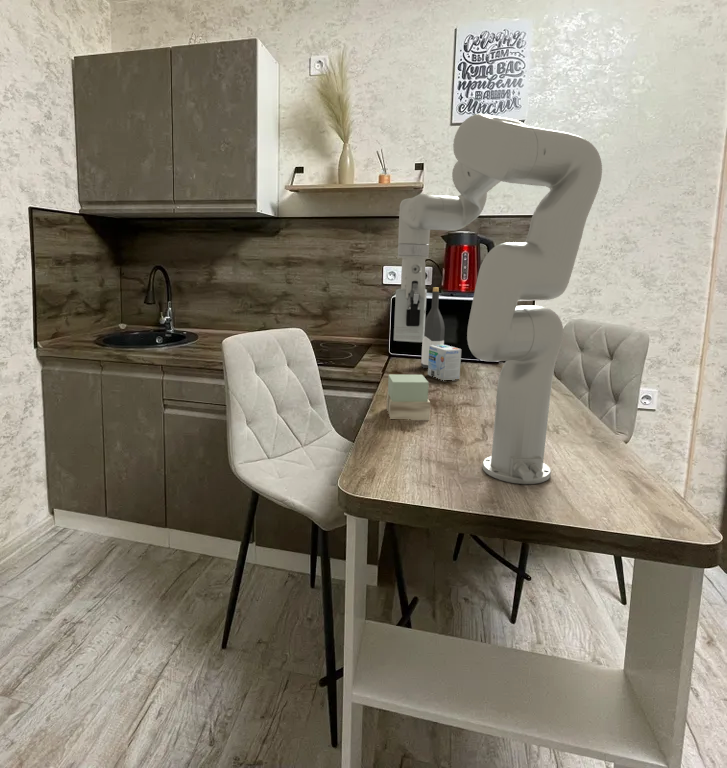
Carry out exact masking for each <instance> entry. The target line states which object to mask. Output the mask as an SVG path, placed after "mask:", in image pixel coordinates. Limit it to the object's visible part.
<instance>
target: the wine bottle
mask: <svg viewBox="0 0 727 768" xmlns="http://www.w3.org/2000/svg"><path fill="white" fill-rule="evenodd" d="M439 288H440V287H436V286H435V287H432V291H431V293H432V295H431V308H430V310H429V312H428V313H427V315H426V316H425V331H424V338H423V341H422V342H421V343H422V344H421V345H422V346H421V365H420V367H421V366H422V367H423V368H422V367H421V368H422V369H424V368H428V362H429V346H430V345H445V329H446V328H445V327H446V326H445V322H444V319H443V316H442V314H441V311H440V309H439V300H440V291H439V290H440V289H439Z"/></svg>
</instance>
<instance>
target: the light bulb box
mask: <svg viewBox="0 0 727 768" xmlns="http://www.w3.org/2000/svg"><path fill="white" fill-rule="evenodd" d="M461 361H462V349H461V348H458V347H455V346H452V345H451V346H450V345H448V344H444V345H430V346H429V362H428V369H427V375H428V376H430V377H432V376H433V377H432V378H434V377H436V378H435V379H437V378H438V380H439V379H441V380H440V381H442V380H443V381H442V382H445V381H444V380H452V381H456V380H455V379H459V380H460V377H461V376H460V375H461Z"/></svg>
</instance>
